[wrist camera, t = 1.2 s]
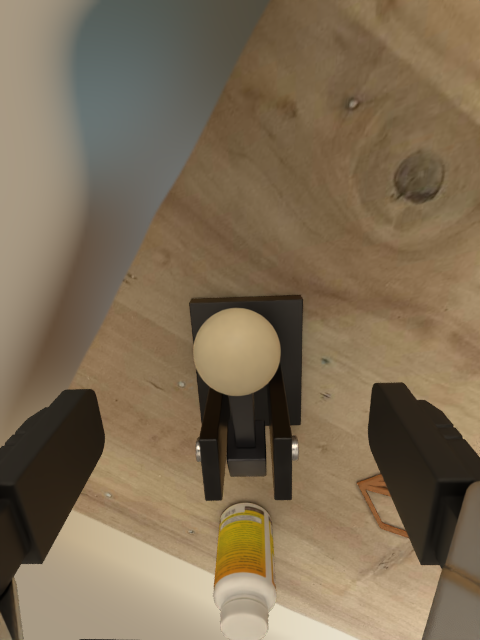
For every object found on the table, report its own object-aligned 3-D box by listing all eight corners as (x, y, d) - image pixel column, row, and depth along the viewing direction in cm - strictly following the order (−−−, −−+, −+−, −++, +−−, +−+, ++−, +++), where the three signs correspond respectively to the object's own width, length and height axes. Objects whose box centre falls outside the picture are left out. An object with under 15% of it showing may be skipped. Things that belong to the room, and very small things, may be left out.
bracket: (191, 298, 30) (151, 378, 18) (300, 294, 30) (334, 374, 18) (203, 419, 34) (178, 547, 22) (299, 417, 34) (324, 546, 22)
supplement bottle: (209, 512, 39) (196, 622, 29) (253, 491, 38) (253, 599, 28) (239, 544, 40) (235, 657, 31) (281, 525, 39) (291, 636, 30)
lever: (190, 291, 14) (181, 365, 12) (278, 288, 14) (285, 362, 12) (222, 431, 24) (220, 486, 22) (273, 430, 24) (276, 485, 22)
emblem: (491, 476, 36) (496, 481, 35) (439, 544, 39) (443, 550, 39) (379, 444, 35) (381, 449, 34) (336, 517, 38) (338, 523, 38)
